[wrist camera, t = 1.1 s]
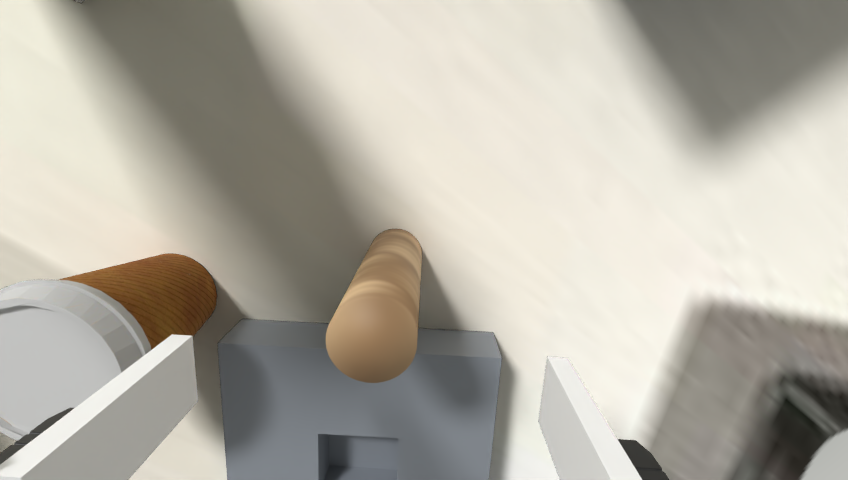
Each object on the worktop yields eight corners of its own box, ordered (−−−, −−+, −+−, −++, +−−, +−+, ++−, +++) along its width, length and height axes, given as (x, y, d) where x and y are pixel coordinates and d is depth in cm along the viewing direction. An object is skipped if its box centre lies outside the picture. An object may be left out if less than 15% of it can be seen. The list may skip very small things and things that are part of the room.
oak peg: (368, 277, 32) (325, 380, 19) (369, 227, 31) (325, 296, 18) (420, 280, 32) (414, 385, 19) (423, 230, 31) (419, 302, 18)
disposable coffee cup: (139, 210, 31) (-33, 254, 20) (256, 268, 32) (160, 343, 21) (99, 314, 33) (-78, 409, 22) (211, 366, 34) (100, 484, 23)
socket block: (253, 521, 38) (233, 565, 34) (242, 318, 33) (217, 342, 29) (472, 533, 38) (478, 578, 34) (493, 332, 33) (501, 358, 29)
